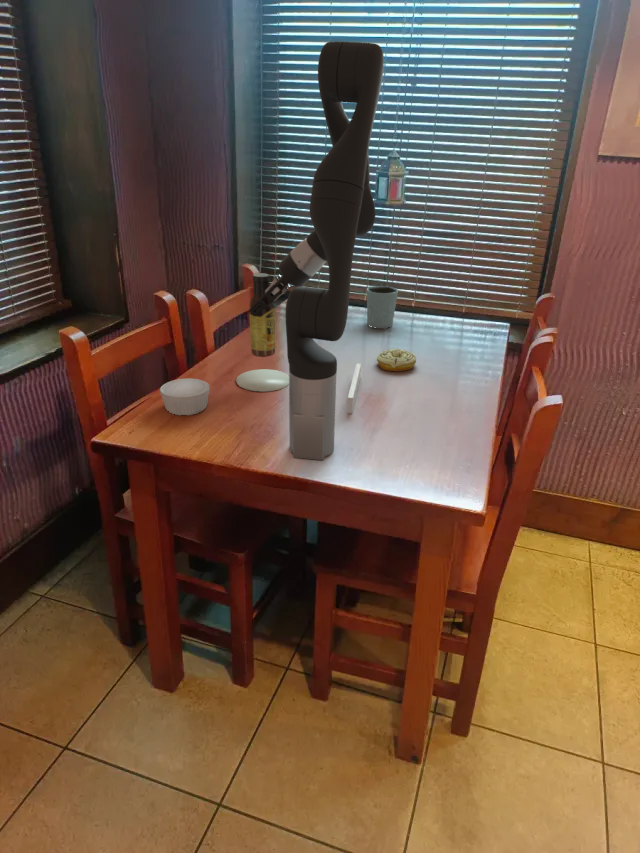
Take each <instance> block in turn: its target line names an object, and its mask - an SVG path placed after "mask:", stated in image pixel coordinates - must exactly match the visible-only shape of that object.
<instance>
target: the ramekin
mask: <svg viewBox="0 0 640 853" xmlns="http://www.w3.org/2000/svg"><path fill="white" fill-rule="evenodd" d="M210 389H211V388H210V384H209V383H208V382H206V381H204V380H202V379H198V378H180V379H179V378H178V379H174V380H170V381H167V382H166V383H164V384H162V386H161V387H159V393H160V396H161V398H162V401H163V405H164V408H165V409H166V410H167V412H168V411H169V412H168V413H170V414H171V413H172V415H174V414H175V416H181V415H187V416H193V414H194V415H197V414H200V413H201V412H202V411H205V409H206V408H207V406H208V402H209V400H208V399H209V393H210V391H211V390H210ZM199 412H200V413H199Z"/></svg>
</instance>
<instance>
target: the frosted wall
mask: <svg viewBox="0 0 640 853" xmlns="http://www.w3.org/2000/svg"><path fill="white" fill-rule="evenodd" d="M361 373H362V363H361V362H360V363H359V362H358V363H357V362H356V365H355V368H354V372H353V375H352V379H351V384H350V387H349V391H348V395H347V402H346V403H347V405H346V406H347V407H346V413H347V414H350V415H351V414H353V411H354V407H355V403H356V399H357V394H358V390H359V386H360V385H359V384H360V381H361V375H362V374H361Z"/></svg>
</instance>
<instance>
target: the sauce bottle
mask: <svg viewBox="0 0 640 853" xmlns="http://www.w3.org/2000/svg"><path fill="white" fill-rule="evenodd" d="M270 280H271V278H270V275H269V274H268V273H265V272H264V273H261V272H259V273H254V274H252V281H253V282H252V283H253V295H252V297H251V298H250V301H249V309H250V308H251V307H252V306H254V305H255V304H256V303H257V302H258V300H259V298H260V297H262V296H263V295H264V294H265V290H266V289H267V288H268V287H269V285H270ZM264 299H265V300H266V301H267V302H269V301H270V300H269V299H268V298H267V297H264ZM249 329H250V330H249V332H250V334H249V335H250V337H249V338H250V348H251V354H252V355H253V356H255V357H258V358H266V357H271V356H273V355H275V354H276V347H277V346H276V307H275V305H274V301H273V302H272V303H271V304H269V306H268V307H266V308H264V309H263V310H262V311H261V312H260V313H259V314H258V315H257V316H253V315H252V314H251V313H250V312H249Z"/></svg>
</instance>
